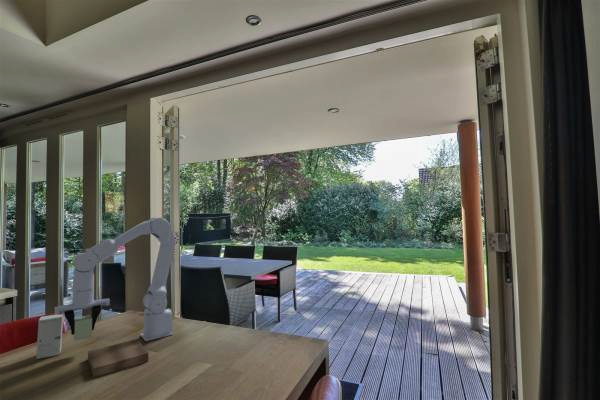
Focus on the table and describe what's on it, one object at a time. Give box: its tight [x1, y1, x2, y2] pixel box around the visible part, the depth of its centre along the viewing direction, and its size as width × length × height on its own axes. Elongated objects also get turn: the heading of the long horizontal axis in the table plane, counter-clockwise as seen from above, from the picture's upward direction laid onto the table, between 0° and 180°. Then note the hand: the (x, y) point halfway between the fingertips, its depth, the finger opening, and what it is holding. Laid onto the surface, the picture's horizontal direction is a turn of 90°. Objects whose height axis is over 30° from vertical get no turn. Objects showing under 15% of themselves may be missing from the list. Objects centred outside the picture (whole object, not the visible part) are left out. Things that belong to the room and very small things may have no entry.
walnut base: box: [87, 338, 149, 378], centre depth 93 cm, size 14×14×2 cm
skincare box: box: [35, 313, 64, 360], centre depth 98 cm, size 6×4×12 cm
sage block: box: [73, 314, 93, 342], centre depth 98 cm, size 4×4×6 cm
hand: (82, 331), depth 98 cm, fingers closed on sage block, 4 cm apart
